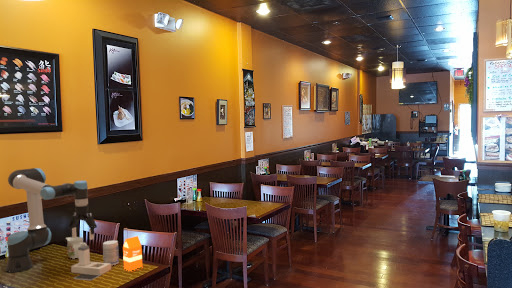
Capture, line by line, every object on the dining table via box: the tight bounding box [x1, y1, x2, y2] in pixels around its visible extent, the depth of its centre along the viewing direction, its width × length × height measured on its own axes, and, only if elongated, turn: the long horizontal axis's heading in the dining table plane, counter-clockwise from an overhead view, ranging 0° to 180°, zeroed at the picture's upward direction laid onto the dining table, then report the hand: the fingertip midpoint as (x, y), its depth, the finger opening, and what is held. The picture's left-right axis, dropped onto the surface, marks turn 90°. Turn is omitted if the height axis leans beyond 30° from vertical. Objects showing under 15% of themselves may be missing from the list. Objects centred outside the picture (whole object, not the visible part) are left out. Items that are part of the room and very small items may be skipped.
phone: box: [73, 273, 101, 281], centre depth 233 cm, size 7×13×1 cm, turn 72°
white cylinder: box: [78, 245, 91, 266], centre depth 245 cm, size 5×5×14 cm
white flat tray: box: [70, 261, 112, 276], centre depth 243 cm, size 22×10×4 cm, turn 72°
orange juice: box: [122, 235, 143, 272], centre depth 245 cm, size 8×9×20 cm
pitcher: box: [65, 236, 88, 260], centre depth 272 cm, size 11×18×14 cm, turn 72°
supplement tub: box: [102, 240, 120, 267], centre depth 255 cm, size 10×10×15 cm
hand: (83, 238), depth 244 cm, fingers open, 13 cm apart
